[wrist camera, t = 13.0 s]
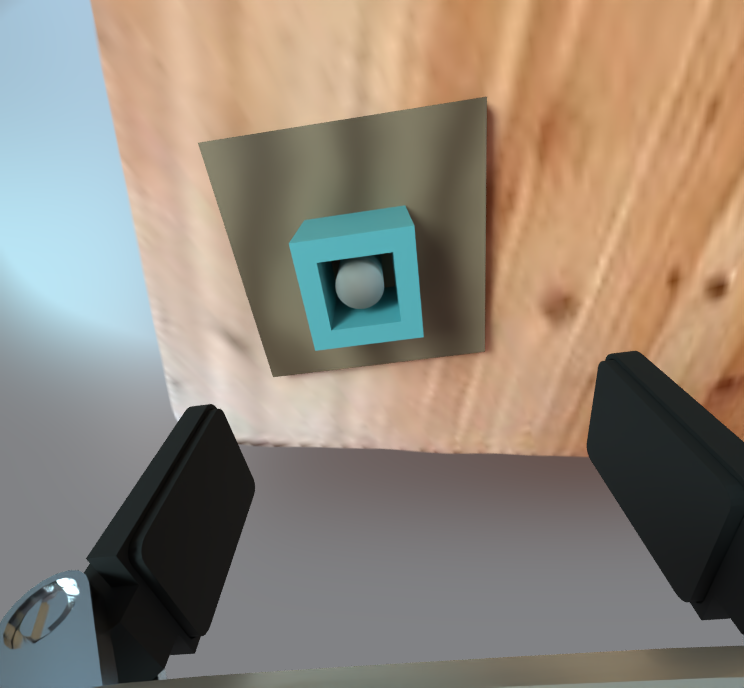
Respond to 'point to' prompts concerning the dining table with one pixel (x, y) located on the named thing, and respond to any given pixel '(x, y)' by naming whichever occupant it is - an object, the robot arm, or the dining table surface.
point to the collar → (349, 240)
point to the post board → (351, 195)
